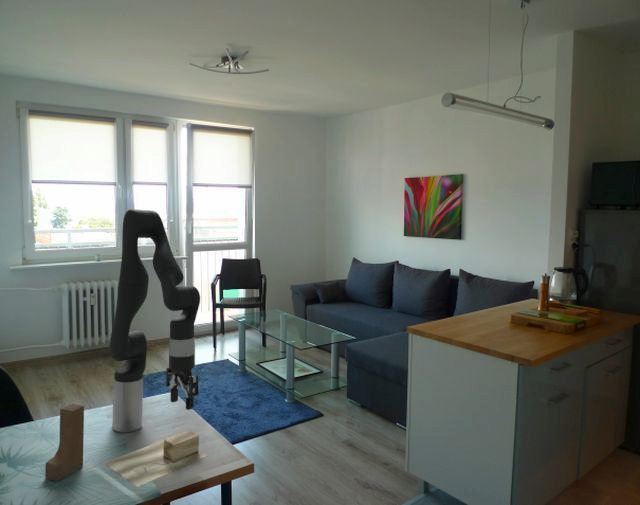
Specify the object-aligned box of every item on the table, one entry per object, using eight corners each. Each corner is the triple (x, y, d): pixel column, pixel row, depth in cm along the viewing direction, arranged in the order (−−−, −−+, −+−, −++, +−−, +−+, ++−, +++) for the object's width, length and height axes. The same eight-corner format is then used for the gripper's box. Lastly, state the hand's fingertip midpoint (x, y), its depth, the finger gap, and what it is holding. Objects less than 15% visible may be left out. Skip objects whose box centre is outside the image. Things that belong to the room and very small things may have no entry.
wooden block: (57, 482, 127) (58, 417, 126) (44, 478, 128) (45, 414, 127) (83, 466, 136) (84, 405, 134) (71, 463, 137) (72, 403, 136)
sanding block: (163, 457, 140) (163, 439, 140) (188, 447, 148) (189, 430, 147) (173, 463, 137) (173, 445, 137) (198, 452, 145) (199, 435, 144)
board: (103, 467, 136) (103, 463, 136) (171, 440, 154) (171, 436, 154) (137, 491, 125) (137, 486, 125) (206, 459, 143) (207, 455, 143)
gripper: (158, 350, 144) (158, 402, 144) (183, 359, 134) (183, 415, 135) (180, 346, 149) (180, 396, 150) (206, 354, 140) (205, 408, 140)
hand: (181, 405), depth 142 cm, fingers open, 8 cm apart
